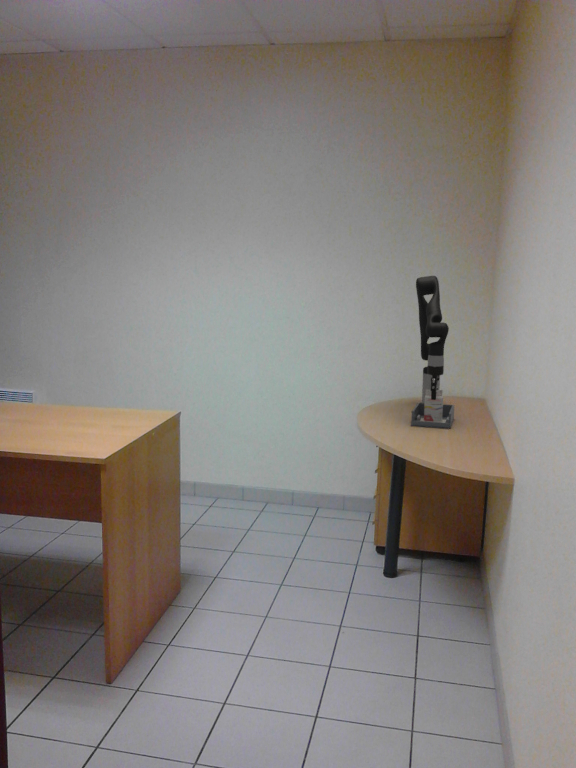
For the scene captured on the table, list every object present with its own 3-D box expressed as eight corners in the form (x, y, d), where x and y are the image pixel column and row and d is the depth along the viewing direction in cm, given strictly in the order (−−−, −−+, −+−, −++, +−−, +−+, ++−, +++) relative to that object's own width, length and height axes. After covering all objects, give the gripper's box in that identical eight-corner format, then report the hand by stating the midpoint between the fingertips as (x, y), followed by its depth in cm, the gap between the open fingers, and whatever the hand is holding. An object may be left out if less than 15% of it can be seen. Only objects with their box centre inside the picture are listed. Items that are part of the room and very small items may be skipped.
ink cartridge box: (424, 421, 312) (425, 391, 310) (423, 418, 317) (424, 389, 314) (442, 421, 311) (443, 391, 308) (441, 419, 316) (442, 389, 313)
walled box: (417, 416, 327) (417, 402, 326) (453, 418, 321) (454, 405, 320) (411, 426, 306) (411, 411, 305) (450, 428, 301) (450, 414, 300)
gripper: (429, 361, 317) (428, 394, 320) (426, 366, 303) (424, 400, 306) (445, 362, 314) (443, 395, 317) (442, 367, 301) (441, 401, 304)
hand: (434, 397), depth 312 cm, fingers open, 8 cm apart
